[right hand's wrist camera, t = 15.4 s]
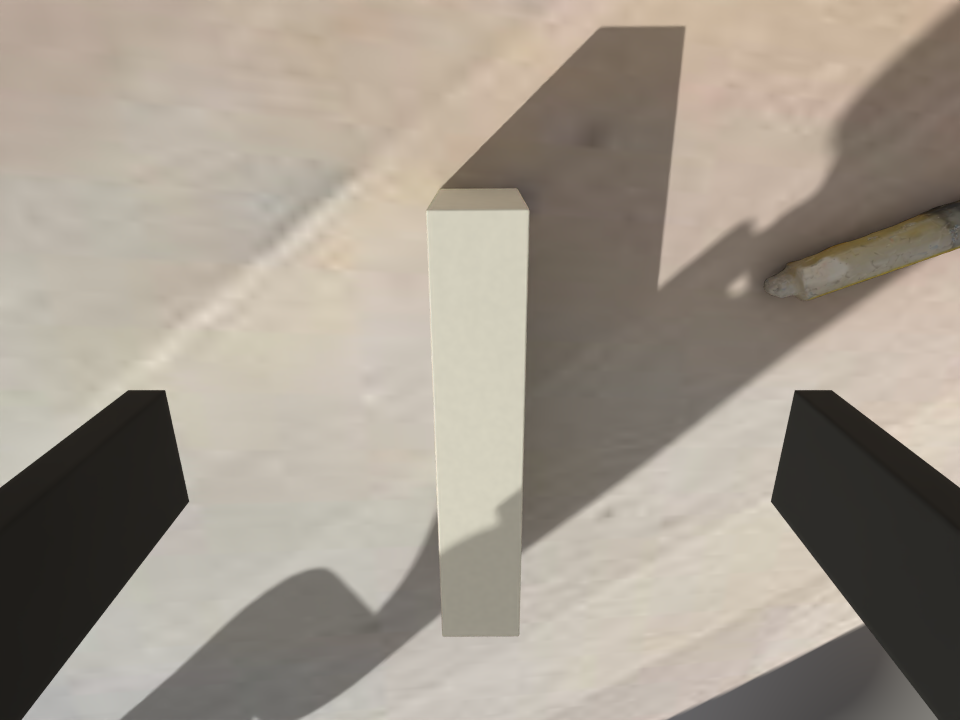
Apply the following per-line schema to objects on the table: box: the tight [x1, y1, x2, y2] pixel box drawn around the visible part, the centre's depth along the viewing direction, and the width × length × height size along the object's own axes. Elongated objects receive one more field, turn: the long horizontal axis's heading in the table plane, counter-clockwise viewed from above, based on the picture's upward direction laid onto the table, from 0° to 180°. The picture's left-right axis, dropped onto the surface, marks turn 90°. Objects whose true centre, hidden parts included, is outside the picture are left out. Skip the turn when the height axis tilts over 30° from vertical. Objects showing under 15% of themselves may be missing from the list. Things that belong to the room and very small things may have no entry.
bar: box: [426, 188, 530, 637], centre depth 34 cm, size 24×4×9 cm, turn 0°
